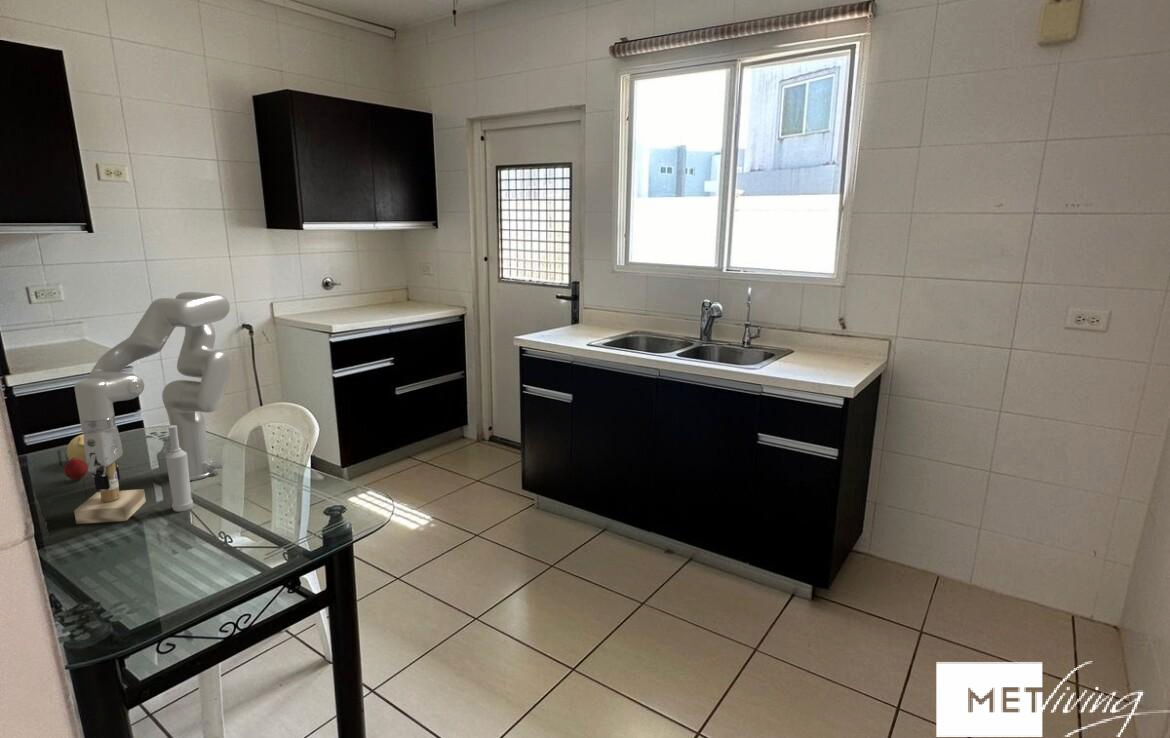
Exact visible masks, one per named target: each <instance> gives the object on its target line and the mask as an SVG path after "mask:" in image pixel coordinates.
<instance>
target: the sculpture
mask: <svg viewBox="0 0 1170 738" xmlns="http://www.w3.org/2000/svg"><path fill="white" fill-rule="evenodd" d="M66 456H67V459H68V461H70V460H71V459H72V458H73V457H74V456H77V459H80V460H83V461H84V462H85V463H86V464H87V462H86V458H85V450H84V433H82V434H79V435H77V436H75V437H74V438H72V439H71V440H70V442H69V443H68V444H67V447H66ZM87 466H88V465H87Z"/></svg>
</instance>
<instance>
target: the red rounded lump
mask: <svg viewBox="0 0 1170 738" xmlns="http://www.w3.org/2000/svg"><path fill="white" fill-rule="evenodd" d="M63 472H64V475H65V476H66V477H67V478H69V479H71V480H74V481H80V480H82V478H83V477H84V476H85V475H86V474H87V473H88V466H87V464H86V463H85V462H84V461H83V460H80V459H77V456H74V457H73V458H72V459H71V460H68V461H67V462H66V464H65V465H64V468H63Z"/></svg>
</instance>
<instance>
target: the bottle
mask: <svg viewBox="0 0 1170 738" xmlns="http://www.w3.org/2000/svg"><path fill="white" fill-rule="evenodd" d="M168 434H169V442H170V450H169V451H168V453H166V454H165V461H166V468H167V476H168V480H169V481H168V482H169V487H170V493H171V499H172V503H171V506H172V509H173V511H174V512H179V513H180V512H185V511H189V510H191V509H192V508H193V507H194V501H193V499H192V491H191V483H190V482H191V481H190V479H189V469H188V459H187V453H186V452H185V451H183V450H181V448H180V447H179V440H178V431H177V426H176V425H172V426H170V425H169V426H168Z"/></svg>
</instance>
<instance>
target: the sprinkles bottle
mask: <svg viewBox="0 0 1170 738" xmlns="http://www.w3.org/2000/svg"><path fill="white" fill-rule="evenodd" d="M96 465H100V463H97V464H96ZM97 469H99V470H101V471H102V467H100V468H97ZM106 475H108V478H109V484H110V488H109V489H104V490H99V492H100V493H101V501H103V502H110V501H114V500H117V499H119V498H120V493H119V491H120V489H119V488H120V487H119V485H120V484H119V481H118V477H117V472H116V466H115V461H114V462H113V463H112V464H110V465H109V466H106Z"/></svg>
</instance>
